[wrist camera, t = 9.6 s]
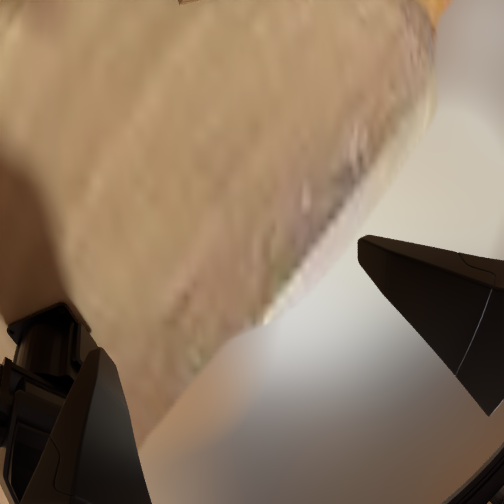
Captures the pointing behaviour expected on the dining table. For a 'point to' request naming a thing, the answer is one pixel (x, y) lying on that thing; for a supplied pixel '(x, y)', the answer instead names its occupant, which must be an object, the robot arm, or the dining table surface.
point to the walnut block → (185, 1)
